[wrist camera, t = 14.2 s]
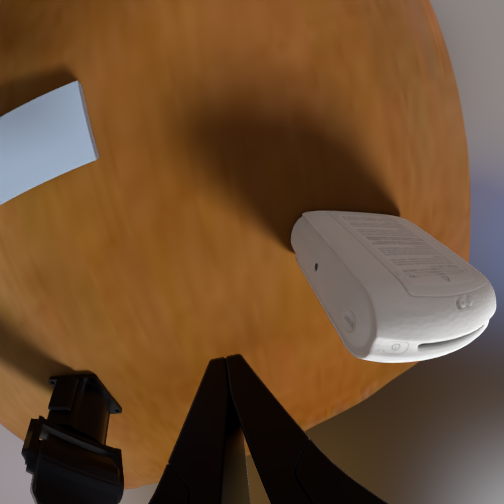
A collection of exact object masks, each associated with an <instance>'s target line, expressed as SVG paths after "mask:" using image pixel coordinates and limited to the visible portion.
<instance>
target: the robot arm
mask: <svg viewBox="0 0 504 504" xmlns="http://www.w3.org/2000/svg"><path fill="white" fill-rule="evenodd" d="M49 383H50V384H51V385H52V387H53V388H54V390H53V393H52V396H51V399H50V403H49V406H48V409H49V410H50V411H49V414H48V418H47V420H46V419H44V417H42V416H39V419H31V421H30V425H29V428H28V431H27V435H26V438H25V441H24V445H23V448H22V453H21V454H22V456H23V457H24V459H25V464H26V465H27V467H26V472H28V473H30V474H32V475H33V476H32V482H31V488H30V491H31V495H32V497H33V499H34V502H35V504H118V503H119V502H120V501H121V499H122V495H123V491H124V476H123V466H122V454H121V449H118V448H112V447H110V446H107V445H106V438H107V430H108V423H109V417H110V414H116V413H122V408H121V407H120V405H119V404H118V403H117V402H116V400H115V399H114V398H113V397H112V395H111V394H110V393H109V392H108V390H107V389H106V388H105V387H104V385H103V384H102V383H101V381H100V380H99V379H98V377H97V376H95V375H93V374H89V375H77V376H61V377H50V378H49ZM244 436H245V439H246V442H247V445H248V447H249V450H250V453H251V455H252V458H253V460H254V463H255V466H256V468H257V471H258V473H259V476H260V478H261V481H262V483H263V486H264V488H265V490H266V493H267V495H268V498H269V500H270V503H271V504H388V503H387V502H385V501H383V500H382V499H380V498H379V497H378V496H376V495H375V494H373V493H372V492H371V491H369V490H368V489H366V488H365V487H364V486H362V485H361V484H359V483H358V482H357V481H355V480H354V479H353V478H351V477H350V476H349V475H348V474H346V473H345V472H344V471H343V470H342V469H340V468H339V467H338V466H337V465H336V464H335V463H333V462H332V461H331V460H330V459H329V458H328V457H327V456H326V455H325V454H324V453H323V452H322V451H321V450H320V449H319V447H318V446H317V445H316V444H315V443H314V442H313V441H312V440H311V439H309V437H308V435H307V434H306V433H305V432H304V431H303V430H302V429H301V427H300V426H299V425H298V424H297V423H296V422H295V420H294V419H293V418H292V417H291V416H290V415H289V413H288V412H287V411H286V410H285V409H284V407H283V406H282V405H281V404H280V403H279V402H278V400H277V399H276V398H275V397H274V395H273V394H272V393H271V392H270V391H269V389H268V388H267V387H266V386H265V384H264V383H263V382H262V381H261V379H260V378H259V377H258V376H257V374H256V373H255V372H254V371H253V369H252V368H251V367H250V366H249V364H248V363H247V362H246V360H245V359H244V358H243V357H242V355H240V354H235V355H230V356H227V357H226V359H225V358H224V357H220V358H215V359H211V360H210V361H209V364H208V366H207V369H206V371H205V373H204V376H203V378H202V381H201V383H200V386H199V388H198V390H197V393H196V395H195V398H194V400H193V403H192V405H191V407H190V410H189V412H188V415H187V417H186V420H185V422H184V424H183V427H182V429H181V432H180V434H179V437H178V439H177V441H176V444H175V446H174V449H173V451H172V454H171V456H170V458H169V461H168V463H169V464H167V465H166V468H165V470H164V473H163V475H162V477H161V480H160V482H159V484H158V486H157V488H156V490H155V493H154V494H153V496H152V498H151V500H150V502H149V503H148V504H250V495H249V485H248V475H247V466H246V454H245V443H244ZM39 438H41V439H43V440H42V441H41V440H39Z"/></svg>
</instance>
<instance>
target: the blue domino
mask: <svg viewBox="0 0 504 504" xmlns="http://www.w3.org/2000/svg"><path fill="white" fill-rule="evenodd" d="M98 158H99V155H98V151H97V147H96V144H95V140H94V136H93V132H92V128H91V124H90V120H89V116H88V112H87V107H86V103H85V98H84V94H83V89H82V85H81V84H80V83H79V82H78V81H75V82H72V83H70V84H67V85H65V86H62V87H60V88H58V89H55V90H53V91H51V92H49V93H46V94H44V95H42V96H40V97H38V98H36V99H34V100H32V101H30V102H28V103H26V104H24V105H22V106H20V107H18V108H16V109H14V110H12V111H11V112H9V113H7V114H5V115H3V116H2V117H0V205H1V204H3V203H4V202H6V201H8V200H10V199H12V198H14V197H16V196H17V195H19V194H21V193H23V192H25V191H27V190H29V189H31V188H33V187H35V186H37V185H39V184H42V183H44V182H46V181H48V180H50V179H52V178H54V177H57V176H59V175H61V174H63V173H66V172H68V171H70V170H73V169H75V168H77V167H80V166H82V165H85V164H87V163H90V162H92V161H95V160H97V159H98Z"/></svg>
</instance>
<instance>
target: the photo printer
mask: <svg viewBox="0 0 504 504" xmlns="http://www.w3.org/2000/svg"><path fill="white" fill-rule="evenodd" d="M291 245H292V247H293V250H294V251H295V253H296V260H297V263H298V265H299V266H300V268H301V270H302V272H303V274H304V275H305V277H306V279H307V280H308V282H309V284H310V286H311V287H312V289H313V291H314V292H315V294H316V296H317V298H318V299H319V301H320V303H321V305H322V306H323V308H324V310H325V312H326V313H327V315H328V317H329V319H330V321H331V322H332V324H333V326H334V327H335V329H336V331H337V333H338V334H339V336H340V338H341V340H342V342H343V343H344V345H345V347H346V348H347V349H348V351H349V352H350V353H351V354H352V355H354V356H355V357H357V358H360V359H364V360H369V361H376V362H389V363H399V362H412V361H420V360H426V359H431V358H435V357H438V356H442V355H445V354H448V353H451V352H453V351H455V350H458V349H460V348H462V347H464V346H465V345H467V344H469V343H470V342H472V341H473V340H474V339H475V338H477V337H478V336H479V335H480V334H481V333H482V332H483V331H484V330H485V328H486V327H487V325H488V323H489V319H490V318H491V317H492V316H493V314H494V312H495V310H496V297H495V293H494V290H493V288H492V286H491V284H490V282H489V281H488V279H487V278H486V277H485V276H484V275H482V274H481V273H480V272H479V271H478V270H476V269H475V268H474V267H472V266H471V265H470V264H469V263H467V262H466V261H465V260H463V259H462V258H461V257H459V256H458V255H457V254H456V253H454V252H453V251H452V250H450V249H449V248H447V247H446V246H445V245H443V244H442V243H441V242H439V241H438V240H436V239H435V238H434V237H432V236H431V235H429V234H428V233H426V232H425V231H424V230H422V229H421V228H419V227H418V226H416V225H415V224H413V223H412V222H410V221H408V220H406V219H404V218H401V217H397V216H392V215H385V214H375V213H362V212H347V211H310V212H305V213H303V214H302V217H301V218H299V219H298V220H297V222H296V223H295V225H294V227H293V229H292V233H291Z"/></svg>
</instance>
